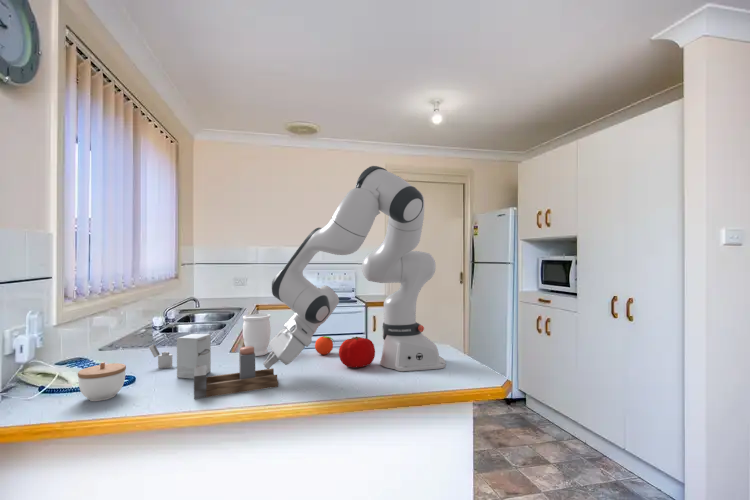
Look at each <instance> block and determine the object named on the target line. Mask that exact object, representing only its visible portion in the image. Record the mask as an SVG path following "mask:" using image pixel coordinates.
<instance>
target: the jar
mask: <svg viewBox="0 0 750 500" xmlns="http://www.w3.org/2000/svg"><path fill="white" fill-rule="evenodd" d="M270 319H271V314H269V313H252V314H245V315H243V316H242V320H244V321H243V324H242V338H243V344H244V347H247V346H252V347H254V353H255V357H261V356H265V355H267V354H269V350H268V347H269V345H268V344H269V342H270V341H271V340H270V339H271V338H270V337H271V323H270V322H271V321H270Z"/></svg>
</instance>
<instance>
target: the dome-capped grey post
mask: <svg viewBox="0 0 750 500" xmlns="http://www.w3.org/2000/svg"><path fill="white" fill-rule="evenodd" d="M238 356H239V360H238V361H239V365H238V367H239V373H240V379H247V378H255V371H256V356H255V353H254V347H252V346H247V347H245V346H242V347H240V348H239V354H238Z"/></svg>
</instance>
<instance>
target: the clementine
mask: <svg viewBox="0 0 750 500" xmlns="http://www.w3.org/2000/svg"><path fill="white" fill-rule="evenodd" d="M334 344H335V339H333V338H332V337H331V336H326V335H322V336H320V337H319V338H317V339H316V340H315V344H314V348H315V351H316V352H317V354H320V355H323V356H325V355H328V354H330V353H331V352H332V351H333V348H334Z"/></svg>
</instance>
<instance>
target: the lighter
mask: <svg viewBox="0 0 750 500" xmlns="http://www.w3.org/2000/svg"><path fill="white" fill-rule="evenodd" d="M148 348H149V350H150V352H151V354H152V356H153V358H156V357H157V368H158V369H169V368H170V369H171V368H172V367H173V353H170V352H169V351H162V352H161V353H160V351H159V349H158V348H157V346H156V344H155V343H154V344H152V345H149V346H148Z"/></svg>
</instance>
